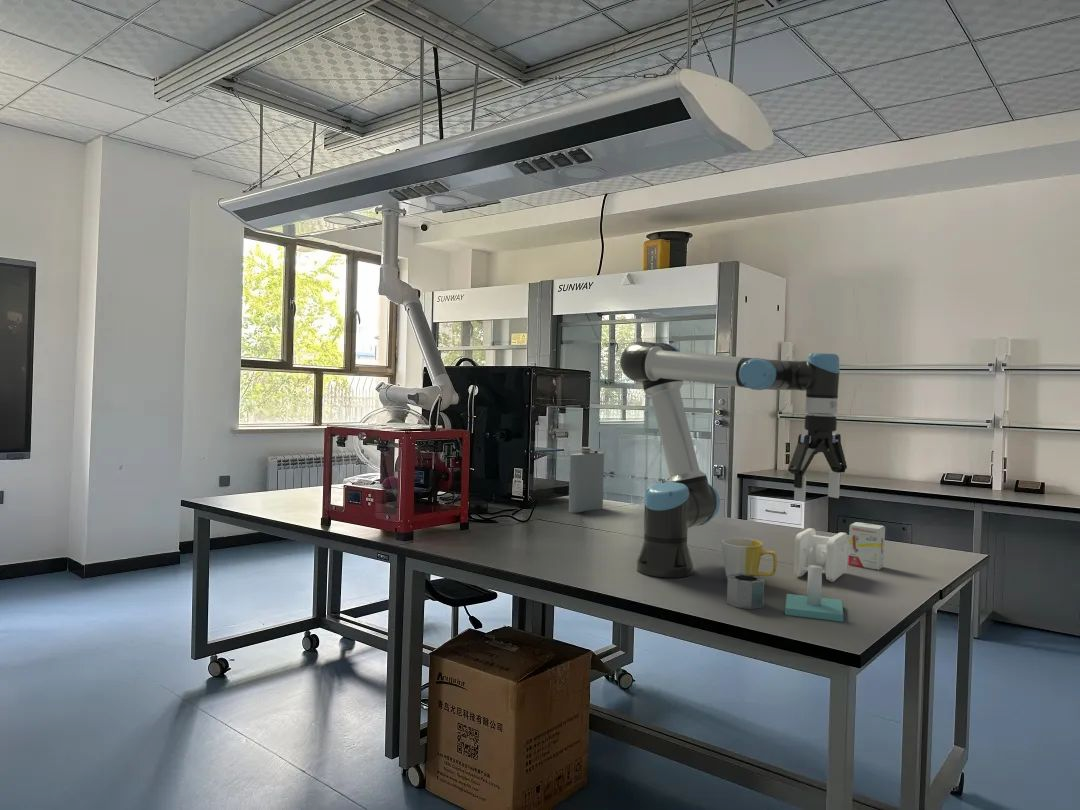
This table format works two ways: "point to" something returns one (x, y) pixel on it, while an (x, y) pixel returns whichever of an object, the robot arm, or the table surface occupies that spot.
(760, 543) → the mug
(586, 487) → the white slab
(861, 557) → the ink box
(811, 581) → the shaft block
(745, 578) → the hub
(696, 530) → the table surface
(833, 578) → the cable organizer
